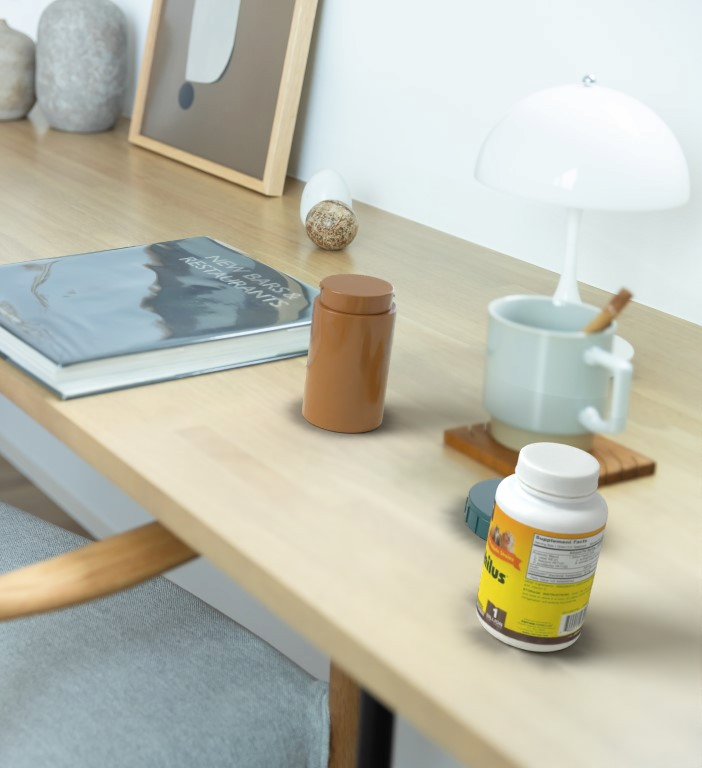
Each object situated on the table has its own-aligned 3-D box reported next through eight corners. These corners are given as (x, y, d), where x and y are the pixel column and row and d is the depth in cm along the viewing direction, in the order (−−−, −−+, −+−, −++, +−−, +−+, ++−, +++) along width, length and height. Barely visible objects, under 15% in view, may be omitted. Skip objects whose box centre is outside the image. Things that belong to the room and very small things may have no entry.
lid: (448, 529, 73) (452, 505, 72) (485, 490, 78) (489, 468, 77) (554, 565, 70) (560, 540, 69) (586, 522, 75) (591, 498, 74)
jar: (371, 400, 91) (387, 272, 87) (391, 433, 86) (410, 299, 82) (295, 399, 91) (308, 271, 87) (310, 432, 85) (325, 297, 81)
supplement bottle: (469, 591, 67) (499, 428, 63) (572, 605, 66) (608, 441, 62) (476, 648, 61) (508, 475, 57) (587, 664, 61) (627, 490, 57)
